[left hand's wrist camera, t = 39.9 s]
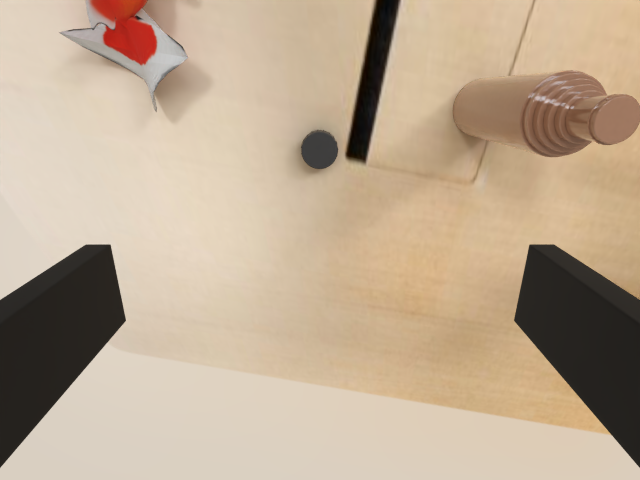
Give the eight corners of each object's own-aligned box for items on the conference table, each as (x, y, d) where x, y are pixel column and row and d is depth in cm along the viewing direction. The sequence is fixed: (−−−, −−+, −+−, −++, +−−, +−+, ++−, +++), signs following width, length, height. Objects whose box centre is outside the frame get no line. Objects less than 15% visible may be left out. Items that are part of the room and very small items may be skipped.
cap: (295, 139, 44) (294, 141, 42) (328, 123, 43) (328, 125, 41) (311, 171, 45) (310, 175, 43) (342, 156, 44) (344, 159, 42)
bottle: (515, 119, 43) (679, 142, 23) (464, 145, 44) (580, 188, 24) (497, 67, 41) (660, 43, 22) (444, 95, 42) (553, 97, 22)
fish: (222, -63, 33) (132, -56, 26) (216, 105, 44) (152, 141, 37) (122, -103, 35) (13, -106, 28) (141, 69, 46) (66, 96, 39)
